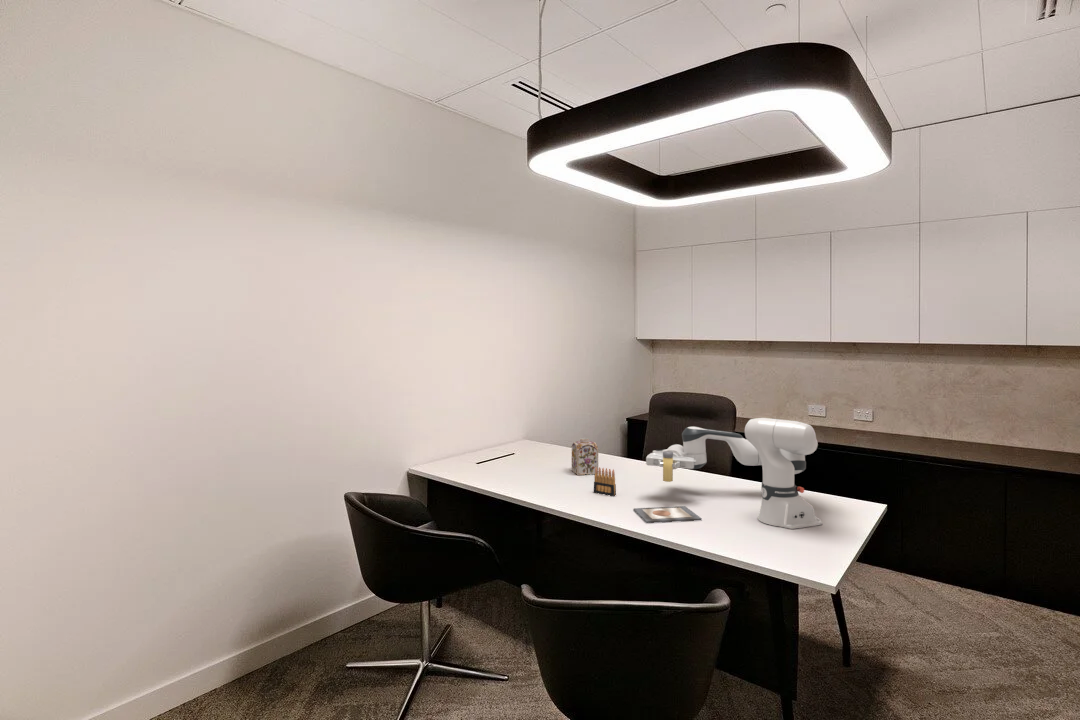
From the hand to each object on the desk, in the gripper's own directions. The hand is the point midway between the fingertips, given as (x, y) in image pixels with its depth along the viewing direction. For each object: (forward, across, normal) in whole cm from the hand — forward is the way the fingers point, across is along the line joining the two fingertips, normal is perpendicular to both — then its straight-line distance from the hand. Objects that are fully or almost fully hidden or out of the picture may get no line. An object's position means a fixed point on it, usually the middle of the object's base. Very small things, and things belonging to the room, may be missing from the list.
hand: (667, 465), depth 230 cm
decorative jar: (-43, +50, -17) cm, 68 cm away
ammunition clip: (-7, +29, -17) cm, 34 cm away
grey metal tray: (+13, -2, -17) cm, 21 cm away
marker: (-1, 0, -6) cm, 7 cm away
